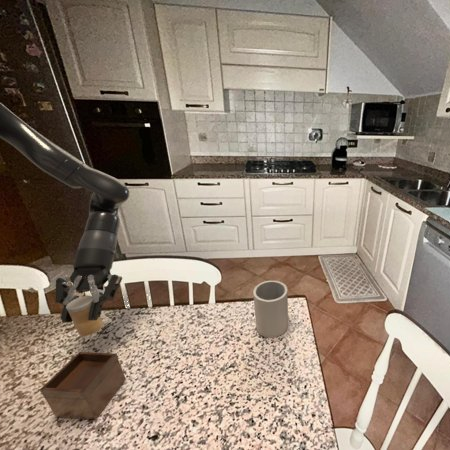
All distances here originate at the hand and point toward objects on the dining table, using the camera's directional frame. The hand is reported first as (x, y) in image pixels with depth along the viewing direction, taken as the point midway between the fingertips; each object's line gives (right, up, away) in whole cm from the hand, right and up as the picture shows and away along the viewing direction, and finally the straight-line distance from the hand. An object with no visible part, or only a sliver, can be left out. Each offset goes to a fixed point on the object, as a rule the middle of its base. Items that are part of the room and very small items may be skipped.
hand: (80, 320), depth 56 cm
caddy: (+8, -14, -5) cm, 17 cm away
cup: (+43, -7, +14) cm, 46 cm away
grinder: (0, -3, +3) cm, 4 cm away
